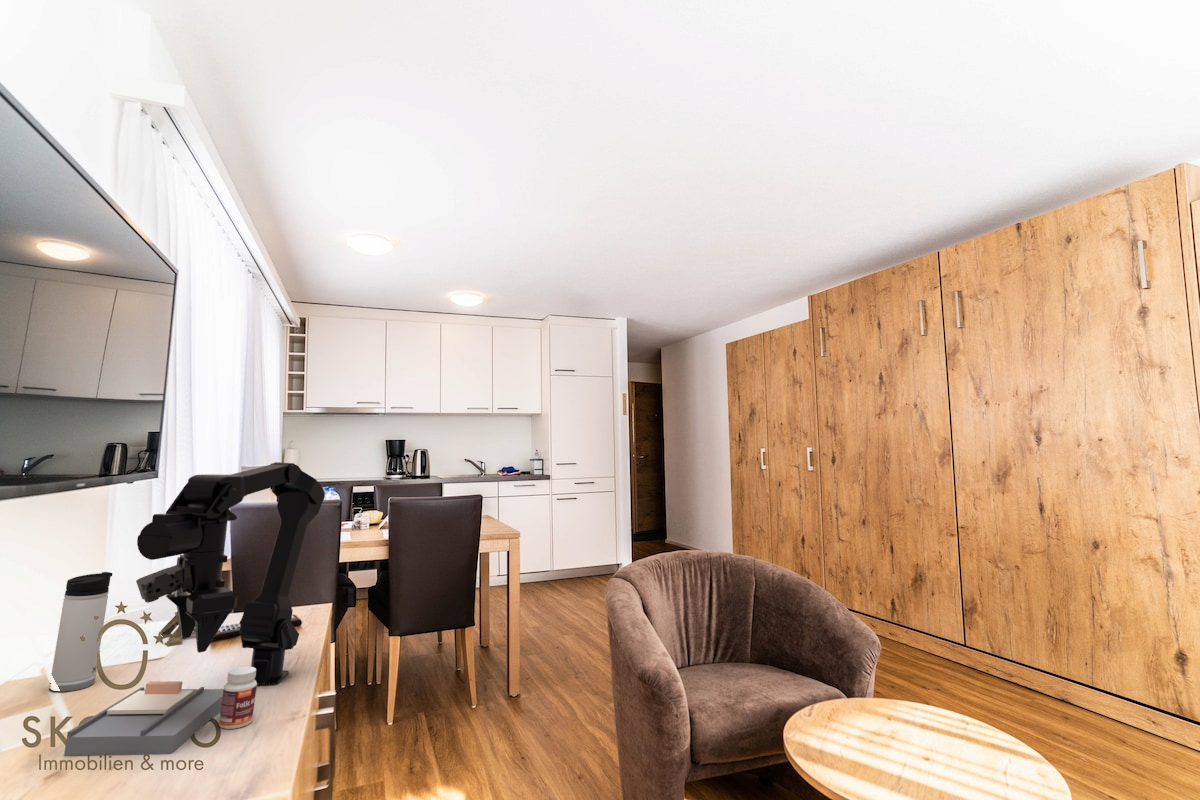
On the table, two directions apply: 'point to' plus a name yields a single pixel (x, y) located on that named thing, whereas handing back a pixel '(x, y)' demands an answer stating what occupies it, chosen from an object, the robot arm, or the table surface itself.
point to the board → (144, 727)
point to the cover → (152, 699)
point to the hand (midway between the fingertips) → (193, 644)
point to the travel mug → (80, 631)
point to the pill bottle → (238, 698)
